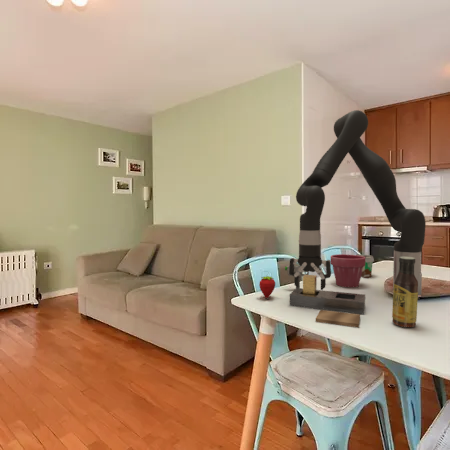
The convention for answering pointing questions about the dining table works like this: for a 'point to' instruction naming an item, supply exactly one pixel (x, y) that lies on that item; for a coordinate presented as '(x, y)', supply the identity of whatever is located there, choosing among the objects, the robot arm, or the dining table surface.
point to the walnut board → (338, 318)
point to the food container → (367, 266)
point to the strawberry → (267, 286)
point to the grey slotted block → (329, 301)
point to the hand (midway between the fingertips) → (309, 288)
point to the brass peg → (309, 284)
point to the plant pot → (347, 269)
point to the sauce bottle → (405, 294)
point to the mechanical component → (296, 271)
